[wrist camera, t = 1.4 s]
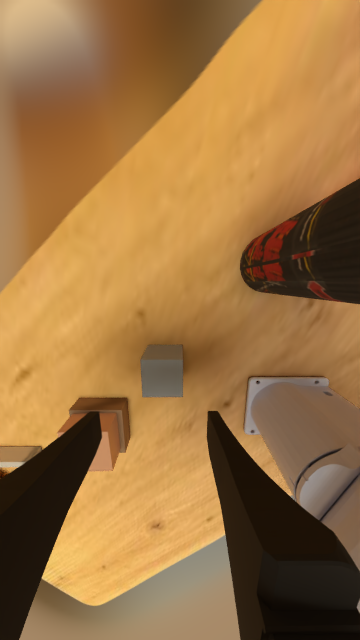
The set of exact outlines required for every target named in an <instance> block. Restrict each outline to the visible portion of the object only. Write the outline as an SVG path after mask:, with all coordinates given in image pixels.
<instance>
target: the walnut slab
mask: <svg viewBox="0 0 360 640" xmlns="http://www.w3.org/2000/svg"><path fill="white" fill-rule="evenodd" d="M90 411H99V413H117V421H118V430H119V438H120V447H121V449H120V452H119V453H125V452H126V449H127V446H128V443H129V440H130V427H129V414H128V400H127V398H79V399H78V400H77V401H76V402H75V404H74V405H73V406H72V407H71V408H70V409H69V414H70V416H71V415H72V414H77V413H89V412H90Z"/></svg>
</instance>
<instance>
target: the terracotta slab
mask: <svg viewBox="0 0 360 640" xmlns="http://www.w3.org/2000/svg"><path fill="white" fill-rule="evenodd" d="M86 414H87V413H77V414H72V415H71V416H70V417H69V419H68V420H67V421H66V422H65V424H64V425H63V426H62V427H61V429H60V430H59V431H58V432H57V433H58V438H59V437H60V436H61V435H62V434H63V433H65V432H66V431H67V430H68V429H70V428H71V427H72V426H73V425H74V424H75V423H77V422H78V421H79V420H80V419H81V418H83V417H84V416H85V415H86ZM99 414H100V422H101V430H102V439H101V442H100V445H99V448H98V450H97V453H96V455H95V457H94V459H93V461H92V464H91V466H90V468H89V470H88V471H113V469H114V466H115V463H116V460H117V457H118V454H119V452H120V449H121V447H120V438H119V430H118V421H117V413H99Z"/></svg>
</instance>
